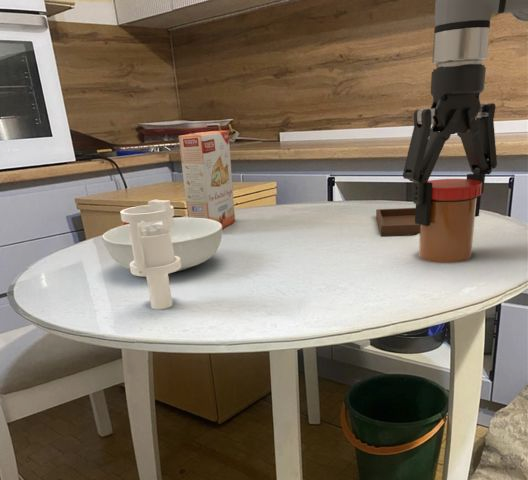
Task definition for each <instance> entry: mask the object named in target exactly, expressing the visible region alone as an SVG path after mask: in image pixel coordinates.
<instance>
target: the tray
mask: <svg viewBox="0 0 528 480" xmlns="http://www.w3.org/2000/svg"><path fill="white" fill-rule="evenodd" d="M375 210H376V211H375V219H376V223H377V224H376V225H377V228H378V231H379V235H380V237H401V236H402V237H404V236H417V235H420V224H416V223H415V212H416V207H402V208H401V207H399V208H380V209H379V208H378V209H375Z"/></svg>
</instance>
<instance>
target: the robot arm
mask: <svg viewBox="0 0 528 480" xmlns="http://www.w3.org/2000/svg"><path fill="white" fill-rule="evenodd" d="M434 5H435V6H434V31H433V33H434V34H433V45H432V46H433V47H432V60H431V61H432V64H433V65H435V66H436V68H434V69H432V71H431V77H430V95H431V96H432V104H431V106H430V108H421V109H419V108H418V109H417V108H416V109H415V110H414V112H413V130H412V134H411V139H410V143H409V146H408V151H407V155H406V159H405V164H404V168H403V172H402V178H403V179H405V180H409V181H410V182H413V190H412V191H413V195H412V202H413V204H415V208H416V212H415V223H416V224H420V225H424V226H429V225H430V215H431V199H432V183H431V182H427V181H430V180H429V179H430V178H431V174H432V172H433V171H434V169H435V166H436V164H437V162H438V159H439V157H440V155H441V153H442V151H443V148H444V146H445V143H446V142H447V141H448V140H449V139H450V138H451V136H452V135H455V134H456V135H457V136H458V137H459V138H460V140H461V143H462V147H463V150H464V153H465V156H466V158H467V162H468V164H469V167H470V171H471V173H467V174H466V179H471V180H478V181H481V182H482V193H481V195H480V196H478V197H477V201H476V211H475V218H476V217H479V216H480V209H481V199H482V195H483V193H484V189H485V181H486V180H485V179H486V175H490V174H491V173H492V170H494V169H496V168H497V165H498V160H497V146H496V135H495V122H494V121H495V120H494V119H495V113H496V104H495V102H490V103H481V101H480V94H481V93H483V92H484V90H485V83H486V82H485V81H486V73H487V67H486V65H485V64H483V61H486V60H487V59H488V51H489V39H490V30H491V29H490V27H491V17H492V15H496V14H497V15H499V14H505V13H506V14H507V13H510V14H511V15H512V16H513V17H514V18H515V19H516V20H518V21H522V22H528V0H435V3H434Z"/></svg>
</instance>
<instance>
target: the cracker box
mask: <svg viewBox="0 0 528 480" xmlns="http://www.w3.org/2000/svg"><path fill="white" fill-rule="evenodd" d="M229 134H230V132H229V131H228V130H213V131H211V130H210V131H201V132H195V133H188V134H181V135H178V142H179V143H178V144H179V153H180V161H181V167H182V168H181V170H182V177H183V178H182V179H183V188H184V196H185V197H184V198H185V205H186V215H187V217H188V218H205V219H211V220H215V221H217V222H219V223H221V225H222V229H224V228H225V227H227V226H229V225H231V224H234V223H235V222H236V215H235V205H234V204H235V202H234V201H235V200H234V190H233V189H234V188H233V176H232V175H233V174H232V162H231V161H232V160H231V147H230V146H231V145H230V135H229Z"/></svg>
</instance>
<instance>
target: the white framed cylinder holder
mask: <svg viewBox="0 0 528 480" xmlns="http://www.w3.org/2000/svg"><path fill="white" fill-rule="evenodd" d="M119 214H120V220H121V222H123V223H124V222H127V223H129V224H130V225H128V226H129V228H128V230H129V232H130V238H131V243H132V249H133V255H134V261H132V262H131V263H130V269H129V270H130V273H131V275H133V276H136V277H146V282H147V283H146V284H147V288H148V294H149V301H150V308H151V309H153V310H166V309H169V308H171V307H172V306H173V299H172V292H171V286H170V285H171V284H170V279H169V274H172V273H176V272H175V271H177V270H179V269H180V268H181V260H180V257H178V256H175V255H174V250H173V245H172V242H171V235H170V228H172V227H173V220H172V218H174V216H175V210H174V205H171V200H167V199H165V200H164V199H163V200H162V199H161V200H159V199H152V200H150V201H147V204H145V205H138V206H132V207H128V208H123V209H122V210H120V211H119ZM143 221H145V222H154V221H155V223H154V224H151V226H152V228H154V229H156V230H155V231H151V228H150V226H145V225H141V226H139V223H141V222H143Z"/></svg>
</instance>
